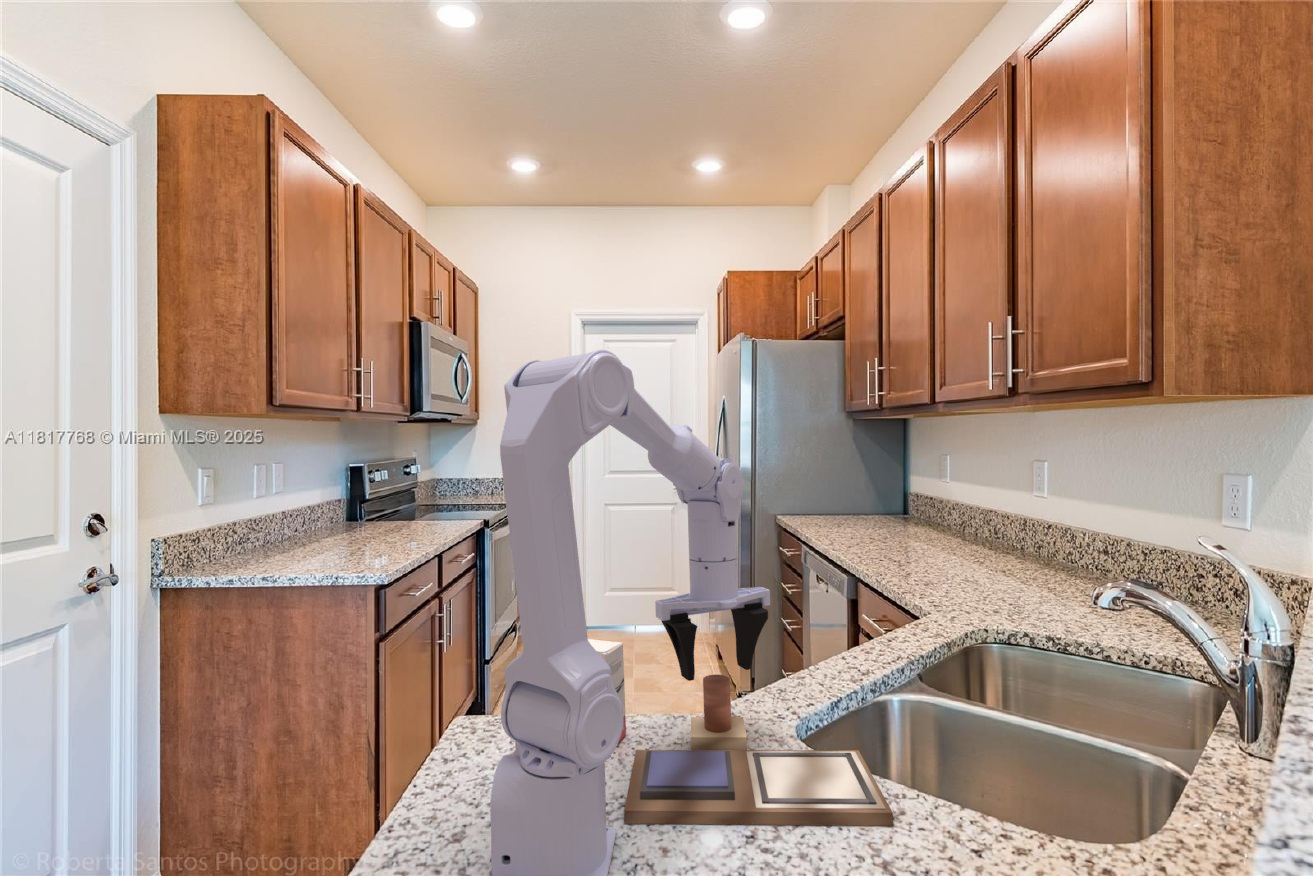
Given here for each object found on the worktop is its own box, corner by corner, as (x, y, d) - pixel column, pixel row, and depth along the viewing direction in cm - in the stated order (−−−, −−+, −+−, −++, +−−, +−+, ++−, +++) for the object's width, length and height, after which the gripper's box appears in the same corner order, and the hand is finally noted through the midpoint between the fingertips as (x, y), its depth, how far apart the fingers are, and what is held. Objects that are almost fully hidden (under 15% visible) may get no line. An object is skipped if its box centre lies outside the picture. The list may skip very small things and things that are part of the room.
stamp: (691, 758, 71) (689, 688, 71) (691, 736, 76) (689, 671, 76) (747, 758, 70) (745, 687, 71) (743, 736, 76) (741, 671, 76)
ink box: (627, 735, 77) (625, 640, 77) (608, 753, 72) (606, 652, 73) (569, 725, 80) (567, 634, 81) (547, 742, 76) (545, 645, 76)
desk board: (624, 823, 58) (623, 799, 59) (636, 760, 70) (635, 740, 70) (893, 826, 57) (892, 801, 57) (858, 761, 69) (858, 740, 69)
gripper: (671, 569, 67) (675, 695, 67) (783, 557, 73) (787, 672, 73) (647, 560, 74) (650, 674, 74) (751, 549, 80) (755, 655, 79)
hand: (716, 672), depth 74 cm, fingers open, 7 cm apart
